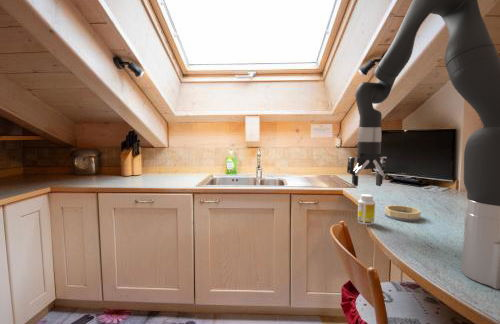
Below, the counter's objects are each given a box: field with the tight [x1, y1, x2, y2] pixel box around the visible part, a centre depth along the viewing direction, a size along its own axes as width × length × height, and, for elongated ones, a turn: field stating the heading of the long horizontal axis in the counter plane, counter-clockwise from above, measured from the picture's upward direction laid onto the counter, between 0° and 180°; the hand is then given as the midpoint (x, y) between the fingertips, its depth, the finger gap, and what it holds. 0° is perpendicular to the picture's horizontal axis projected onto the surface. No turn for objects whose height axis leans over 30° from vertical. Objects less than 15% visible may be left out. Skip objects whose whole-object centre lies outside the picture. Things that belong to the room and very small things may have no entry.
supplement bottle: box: [357, 193, 376, 226], centre depth 95 cm, size 6×6×10 cm
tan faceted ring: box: [384, 204, 421, 223], centre depth 103 cm, size 12×12×3 cm
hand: (367, 185), depth 95 cm, fingers open, 8 cm apart
